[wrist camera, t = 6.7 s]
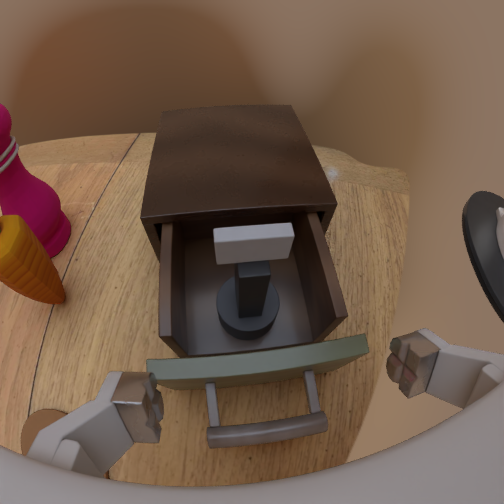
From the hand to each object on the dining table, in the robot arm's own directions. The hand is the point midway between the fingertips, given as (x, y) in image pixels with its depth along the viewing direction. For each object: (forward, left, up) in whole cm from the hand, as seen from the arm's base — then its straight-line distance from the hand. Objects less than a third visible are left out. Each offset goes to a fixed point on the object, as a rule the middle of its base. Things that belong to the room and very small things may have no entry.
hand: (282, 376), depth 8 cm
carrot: (+18, -9, -13) cm, 24 cm away
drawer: (0, -6, -12) cm, 14 cm away
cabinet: (0, -18, -13) cm, 23 cm away
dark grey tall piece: (0, -6, -11) cm, 13 cm away
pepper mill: (+22, -17, -13) cm, 31 cm away
